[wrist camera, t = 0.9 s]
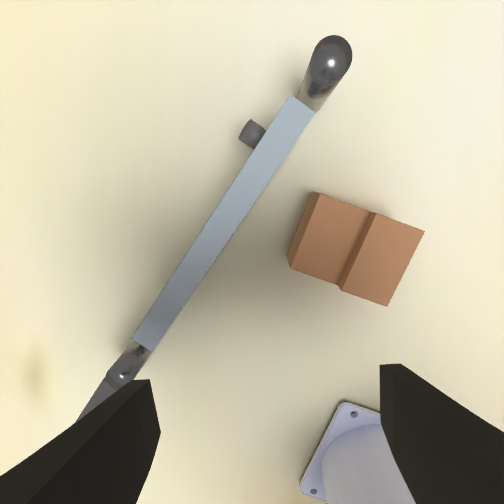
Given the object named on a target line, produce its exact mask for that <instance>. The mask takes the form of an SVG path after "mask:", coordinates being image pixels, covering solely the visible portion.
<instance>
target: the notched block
mask: <svg viewBox="0 0 504 504" xmlns="http://www.w3.org/2000/svg"><path fill="white" fill-rule="evenodd" d="M424 232H425V231H423V230H420V229H418V228H415V227H412V226H409V225H407V224H404V223H401V222H398V221H396V220H393V219H390V218H388V217H385V216H382V215H379V214H377V213H373V212H370V211H367V210H364V209H362V208H359V207H356V206H353V205H351V204H348V203H345V202H342V201H340V200H337V199H334V198H332V197H329V196H326V195H323V194H321V193H315V192H311V195H310V198H309V200H308V203H307V205H306V208H305V210H304V213H303V215H302V218H301V220H300V223H299V225H298V228H297V230H296V233H295V235H294V238H293V240H292V243H291V245H290V248H289V251H288V253H287V258H288V261H289V265H290V268H291V269H294V270H297V271H299V272H302V273H305V274H308V275H311V276H313V277H316V278H319V279H322V280H325V281H328V282H330V283H333V284H336V285H338V286H339V288H340V289H341V291H344V292H347V293H350V294H352V295H355V296H358V297H361V298H364V299H367V300H369V301H372V302H375V303H378V304H381V305H383V306H386V307H387V306H388V304H389V302H390V300H391V298H392V296H393V294H394V292H395V290H396V288H397V286H398V284H399V282H400V280H401V278H402V276H403V274H404V272H405V270H406V268H407V266H408V264H409V262H410V260H411V258H412V256H413V254H414V252H415V250H416V248H417V246H418V244H419V242H420V240H421V238H422V236H423V234H424Z"/></svg>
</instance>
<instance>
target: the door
mask: <svg viewBox="0 0 504 504" xmlns="http://www.w3.org/2000/svg"><path fill="white" fill-rule="evenodd" d="M314 114H315V112H314V111H312V110H311V109H310V108H308V107H307V106H306V105H304V104H303V103H302V102H300V101H299V100H298V99H296V98H295V97H294V96H292V95H291V94H290V96H289V97H288V99H287V100H286V102H285V103H284V105H283V106H282V108H281V109H280V111H279V112H278V114H277V116H276V117H275V119H274V120H273V122H272V123H271V125H270V126H269V128H268V129H267V130H265V129H264V128H262V127H261V126H260V125H258V124H257V123H256V122H254V121H253V120H251V119H250V120H249V121H248V122H247V124H246V125H245V127H244V128H243V130H242V132H241V134H240V136H239V139H240V140H241V141H242V142H244V143H245V144H246V145H248V146H249V147H251V148H252V149H253V150H254V151H253V152H252V154H251V156H250V157H249V159H248V160H247V162H246V163H245V165H244V166H243V168H242V169H241V171H240V172H239V174H238V175H237V177H236V179H235V180H234V182H233V183H232V185H231V186H230V188H229V189H228V191H227V192H226V194H225V195H224V197H223V199H222V200H221V202H220V203H219V205H218V206H217V208H216V209H215V211H214V212H213V214H212V215H211V217H210V219H209V220H208V222H207V223H206V225H205V226H204V228H203V229H202V231H201V232H200V234H199V235H198V237H197V239H196V240H195V242H194V243H193V245H192V246H191V248H190V249H189V251H188V252H187V254H186V255H185V257H184V258H183V260H182V262H181V263H180V265H179V266H178V268H177V269H176V271H175V272H174V274H173V275H172V277H171V278H170V280H169V282H168V283H167V285H166V286H165V288H164V289H163V291H162V292H161V294H160V295H159V297H158V298H157V300H156V302H155V303H154V305H153V306H152V308H151V309H150V311H149V312H148V314H147V315H146V317H145V318H144V320H143V322H142V323H141V325H140V326H139V328H138V329H137V331H136V332H135V334H134V335H133V337H132V338H131V339H133V340H134V341H136V342H137V343H139V344H141V345H142V346H144V347H145V348H147V349H149V350H150V351H152V352H153V350H154V349H155V347H156V346H157V344H158V343H159V341H160V340H161V339H162V337H163V336H164V334H165V333H166V331H167V330H168V328H169V327H170V325H171V324H172V322H173V321H174V319H175V318H176V316H177V315H178V314H179V312H180V311H181V309H182V308H183V306H184V305H185V303H186V302H187V300H188V299H189V297H190V296H191V294H192V293H193V292H194V290H195V289H196V287H197V286H198V284H199V283H200V281H201V280H202V278H203V277H204V275H205V274H206V272H207V271H208V269H209V268H210V267H211V265H212V264H213V262H214V261H215V259H216V258H217V256H218V255H219V253H220V252H221V250H222V249H223V247H224V246H225V245H226V243H227V242H228V240H229V239H230V237H231V236H232V234H233V233H234V231H235V230H236V228H237V227H238V225H239V224H240V222H241V221H242V220H243V218H244V217H245V215H246V214H247V212H248V211H249V209H250V208H251V206H252V205H253V203H254V202H255V200H256V199H257V198H258V196H259V195H260V193H261V192H262V190H263V189H264V187H265V186H266V184H267V183H268V181H269V180H270V178H271V177H272V175H273V174H274V173H275V171H276V170H277V168H278V167H279V165H280V164H281V162H282V161H283V159H284V158H285V156H286V155H287V153H288V152H289V151H290V149H291V148H292V146H293V145H294V143H295V142H296V140H297V139H298V137H299V136H300V134H301V133H302V131H303V130H304V128H305V127H306V126H307V124H308V123H309V121H310V120H311V118H312V117H313V115H314Z"/></svg>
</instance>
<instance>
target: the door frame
mask: <svg viewBox="0 0 504 504" xmlns="http://www.w3.org/2000/svg"><path fill="white" fill-rule="evenodd" d="M351 62H352V50H351V47H350V45H349V43H348V42H347V41H346V40H345V39H344V38H342V37H340V36H337V35H331V36H327V37H325V38H323V39H322V40H321V41H320V42H319V43H318V44H317V45H316V47H315V49H314V52H313V55H312V57H311V60H310V63H309V66H308V69H307V72H306V74H305V77H304V80H303V83H302V86H301V89H300V91H299V94H298V98H297V99H298V100H299V101H300V102H302V103H303V104H304V105H306V106H307V107H308V108H310V109H311V110H312V111H314V112H317V111H318V110H319V109H320V108H321V107H322V105H323V104H324V102H325V101H326V100H327V98H328V97H329V95H330V94H331V93H332V91H333V90H334V88H335V87H336V86H337V84H338V83H339V81H340V80H341V79H342V77H343V76H344V74H345V73H346V72H347V70H348V69H349V67H350V65H351ZM151 353H152V351H150V350H149V349H147V348H145V347H144V346H142V345H141V344H139V343H137V342H136V341H133V342H132V343H131V344H130V346H129V347H128V348H127V349H126V350H125V351H124V353H123V354H122V355H121V356H120V357H119V359H118V360H117V361H116V362H115V363H114V364H113V366H112V367H111V368H110V369H109V370H108V372H107V373H106V377H105V378H104V379H103V380H102V382H101V384H100V385H99V387H98V388H97V390H96V391H95V393H94V394H93V396H92V397H91V399H90V400H89V402H88V404H87V405H86V407H85V408H84V410H83V411H82V413H81V414H80V416H79V417H78V419H77V421H78V420H80V419H81V418H82V417H83V416H85V415H86V414H87V413H89V412H90V411H91V410H93V409H94V408H95V407H96V406H98V405H99V404H100V403H102V402H103V401H104V400H105V399H107V398H108V397H109V396H111V395H112V394H113V393H114V392H116V391H117V390H118V389H120V388H121V387H123V386H124V385H125V384H127V383H128V382H130V381H131V380H134V378H135V377H136V375H137V374H138V372H139V371H140V369H141V368H142V366H143V365H144V363H145V362H146V361H147V359H148V358H149V356H150V355H151ZM77 421H76V422H77Z"/></svg>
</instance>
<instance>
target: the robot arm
mask: <svg viewBox="0 0 504 504" xmlns="http://www.w3.org/2000/svg"><path fill="white" fill-rule="evenodd" d="M353 411H356V412H355V413H351V412H353ZM160 434H161V431H160V427H159V422H158V417H157V412H156V407H155V403H154V398H153V393H152V388H151V383H150V379H146V380H131V381H130V382H128V383H127V384H125V385H124V386H123V387H121V388H120V389H118V390H117V391H116V392H114V393H113V394H112V395H111V396H109V397H108V398H107V399H105V400H104V401H103V402H102V403H100V404H99V405H98V406H96V407H95V408H94V409H93V410H91V411H90V412H89V413H87V414H86V415H85V416H83V417H82V418H81V419H80V420H78V421H77V422H76V423H74V424H73V425H72V426H70V427H69V428H68V429H67V430H65V431H64V432H62V433H61V434H60V435H58V436H57V437H56V438H54V439H53V440H51V441H50V442H49V443H47V444H46V445H44V446H43V447H42V448H40V449H39V450H38V451H36V452H35V453H33V454H32V455H31V456H29V457H28V458H27V459H25V460H24V461H22V462H21V463H19V464H18V465H16V466H15V467H13V468H12V469H10V470H9V471H7V472H6V473H4V474H3V475H1V476H0V504H136V502H137V500H138V497H139V495H140V493H141V490H142V488H143V485H144V483H145V481H146V478H147V476H148V473H149V471H150V468H151V465H152V462H153V458H154V455H155V452H156V448H157V445H158V441H159V438H160ZM300 490H301V492H302V493H304V494H307V495H310V496H313V497H316V498H319V499H322V500H325V501H327V504H504V432H502V431H501V430H499V429H497V428H496V427H494V426H493V425H491V424H489V423H488V422H486V421H485V420H483V419H481V418H480V417H478V416H477V415H475V414H474V413H472V412H471V411H469V410H468V409H466V408H465V407H463V406H462V405H460V404H459V403H457V402H456V401H454V400H453V399H451V398H450V397H448V396H447V395H445V394H444V393H442V392H441V391H440V390H438V389H437V388H435V387H434V386H432V385H431V384H430V383H428V382H427V381H425V380H424V379H422V378H421V377H420V376H418V375H417V374H415V373H414V372H412V371H411V370H409V369H408V368H406V367H405V366H403V365H402V364H386V365H380V413H378V412H375V411H372V410H369V409H366V408H363V407H361V406H358V405H355V404H352V403H349V402H343V403H341V404H340V405H339V406H338V408H337V410H336V412H335V414H334V416H333V418H332V420H331V422H330V424H329V426H328V428H327V430H326V432H325V434H324V436H323V438H322V440H321V442H320V444H319V446H318V448H317V450H316V452H315V454H314V456H313V458H312V460H311V462H310V464H309V466H308V468H307V470H306V472H305V474H304V476H303V478H302V480H301V482H300Z"/></svg>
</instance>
